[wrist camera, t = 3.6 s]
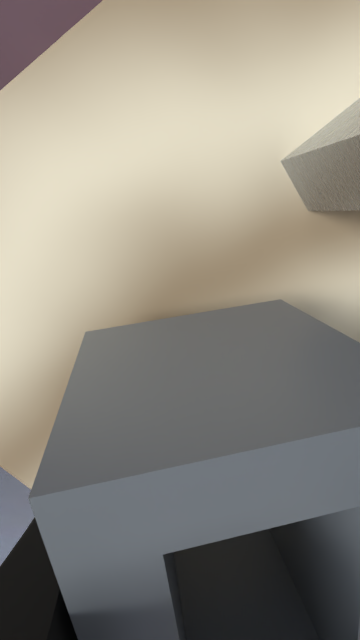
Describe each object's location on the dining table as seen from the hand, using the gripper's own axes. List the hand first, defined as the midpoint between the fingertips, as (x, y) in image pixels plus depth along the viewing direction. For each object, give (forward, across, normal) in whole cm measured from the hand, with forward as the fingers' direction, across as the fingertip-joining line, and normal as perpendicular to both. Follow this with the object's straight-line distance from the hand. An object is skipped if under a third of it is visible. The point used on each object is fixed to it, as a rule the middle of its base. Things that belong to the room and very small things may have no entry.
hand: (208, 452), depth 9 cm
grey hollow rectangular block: (+1, 0, 0) cm, 1 cm away
